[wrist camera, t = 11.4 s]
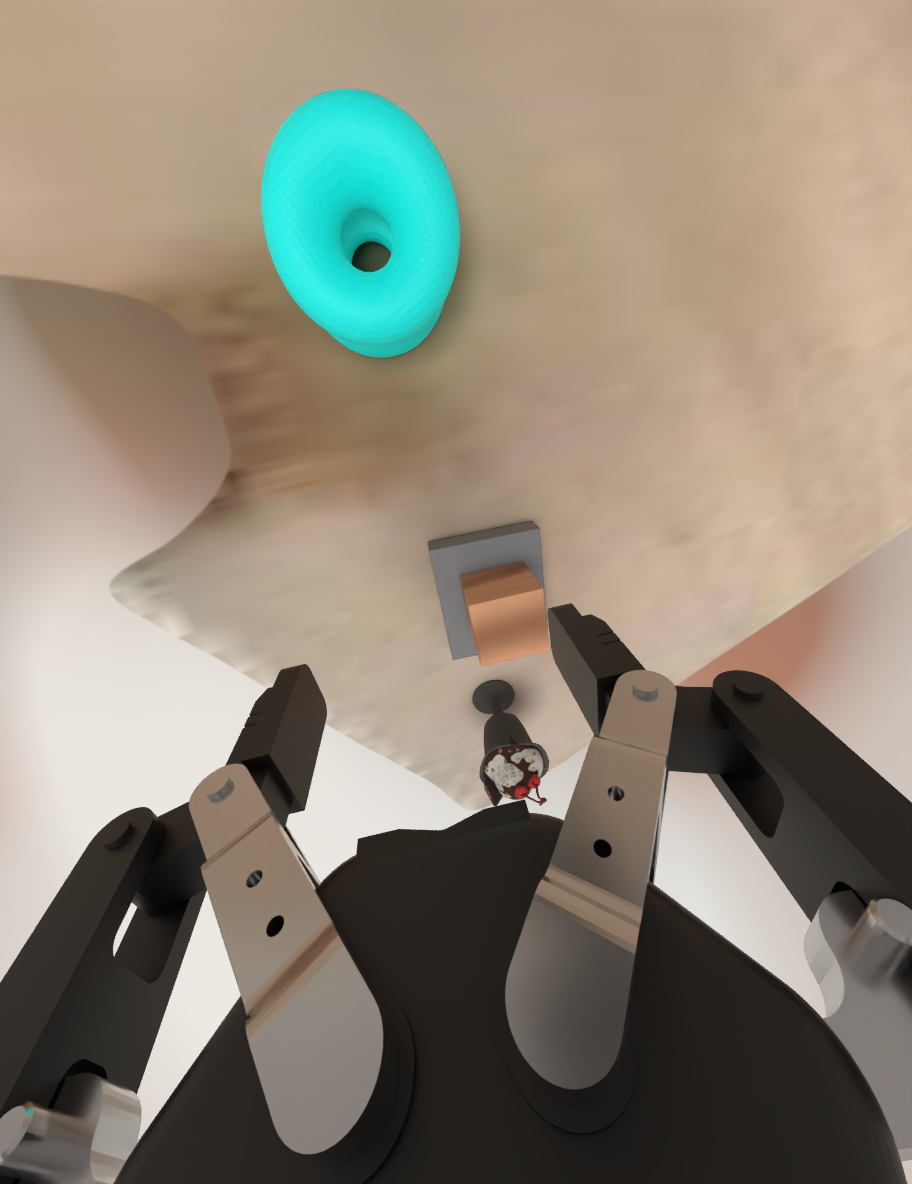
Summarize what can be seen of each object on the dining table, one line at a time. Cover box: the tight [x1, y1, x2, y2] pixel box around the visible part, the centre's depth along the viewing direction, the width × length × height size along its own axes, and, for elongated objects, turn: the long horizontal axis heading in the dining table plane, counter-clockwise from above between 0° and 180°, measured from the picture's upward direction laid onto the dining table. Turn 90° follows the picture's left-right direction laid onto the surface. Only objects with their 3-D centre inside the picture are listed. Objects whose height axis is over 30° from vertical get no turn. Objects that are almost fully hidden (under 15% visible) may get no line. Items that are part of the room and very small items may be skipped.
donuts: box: [261, 89, 460, 358], centre depth 24 cm, size 10×10×10 cm
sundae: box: [473, 680, 549, 806], centre depth 39 cm, size 7×7×15 cm
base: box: [428, 521, 548, 660], centre depth 39 cm, size 12×10×3 cm
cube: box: [459, 561, 550, 667], centre depth 35 cm, size 6×6×6 cm
